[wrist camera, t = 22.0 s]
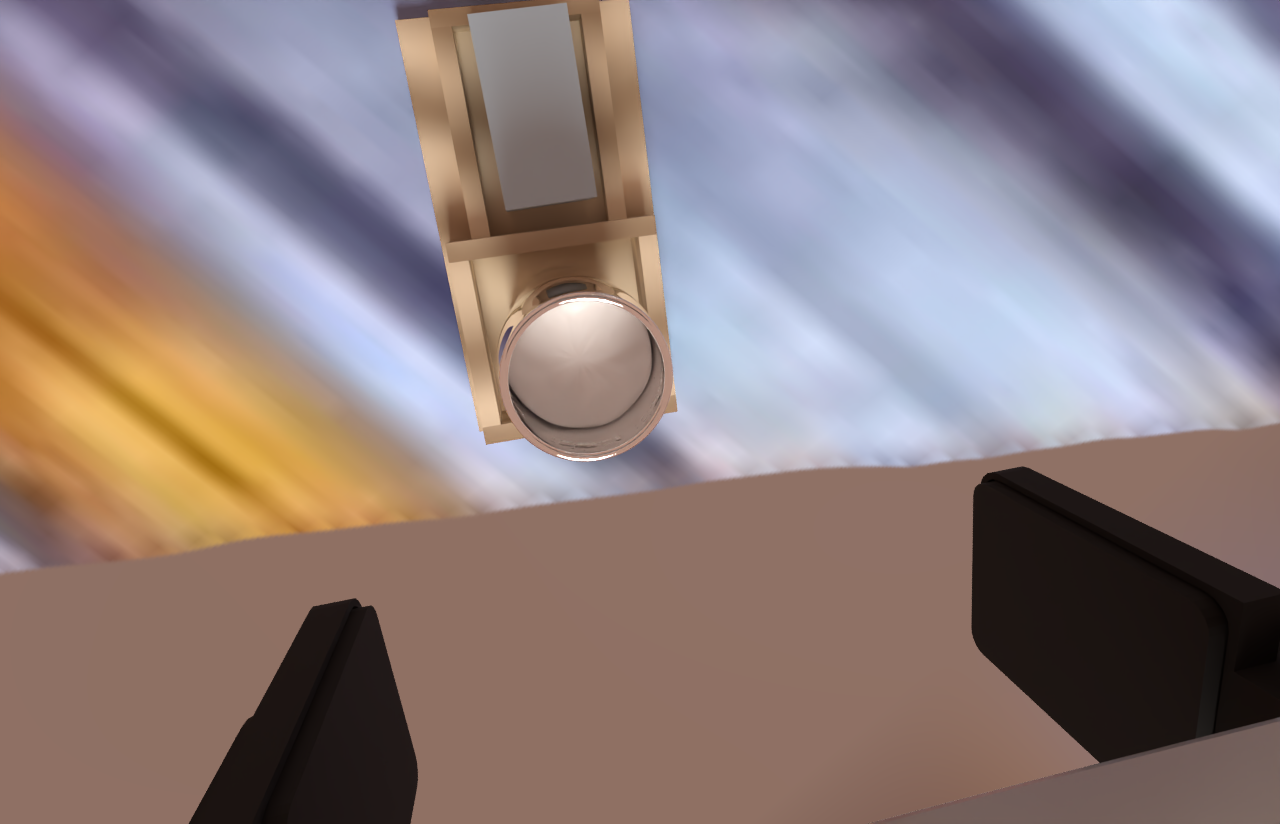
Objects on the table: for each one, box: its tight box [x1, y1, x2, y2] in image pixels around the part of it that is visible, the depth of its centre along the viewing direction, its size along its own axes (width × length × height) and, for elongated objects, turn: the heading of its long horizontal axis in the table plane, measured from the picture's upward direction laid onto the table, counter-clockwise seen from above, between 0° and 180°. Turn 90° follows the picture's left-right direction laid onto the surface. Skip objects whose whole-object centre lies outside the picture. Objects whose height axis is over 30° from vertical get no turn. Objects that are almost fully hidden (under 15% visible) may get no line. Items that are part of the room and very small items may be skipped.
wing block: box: [467, 3, 597, 212], centre depth 34 cm, size 8×4×5 cm, turn 9°
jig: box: [395, 0, 677, 445], centre depth 38 cm, size 22×12×4 cm, turn 7°
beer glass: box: [497, 268, 673, 462], centre depth 33 cm, size 7×7×15 cm
